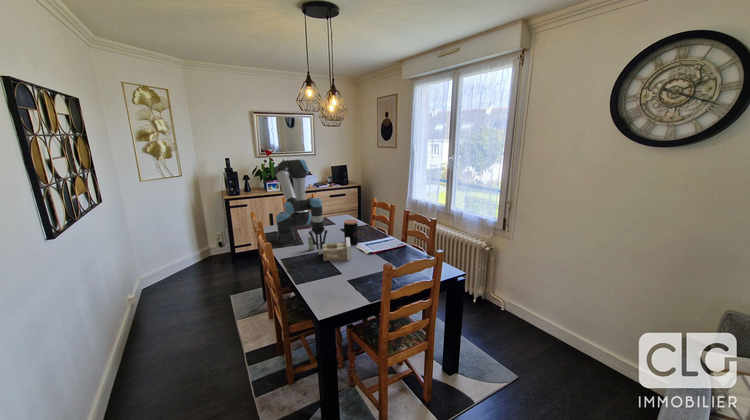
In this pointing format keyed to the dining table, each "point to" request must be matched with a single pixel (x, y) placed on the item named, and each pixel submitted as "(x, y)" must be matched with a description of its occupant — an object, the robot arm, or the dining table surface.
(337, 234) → the dining table surface
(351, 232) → the coffee jar
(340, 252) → the socket block
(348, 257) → the wall
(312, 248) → the dowel
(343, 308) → the dining table surface
